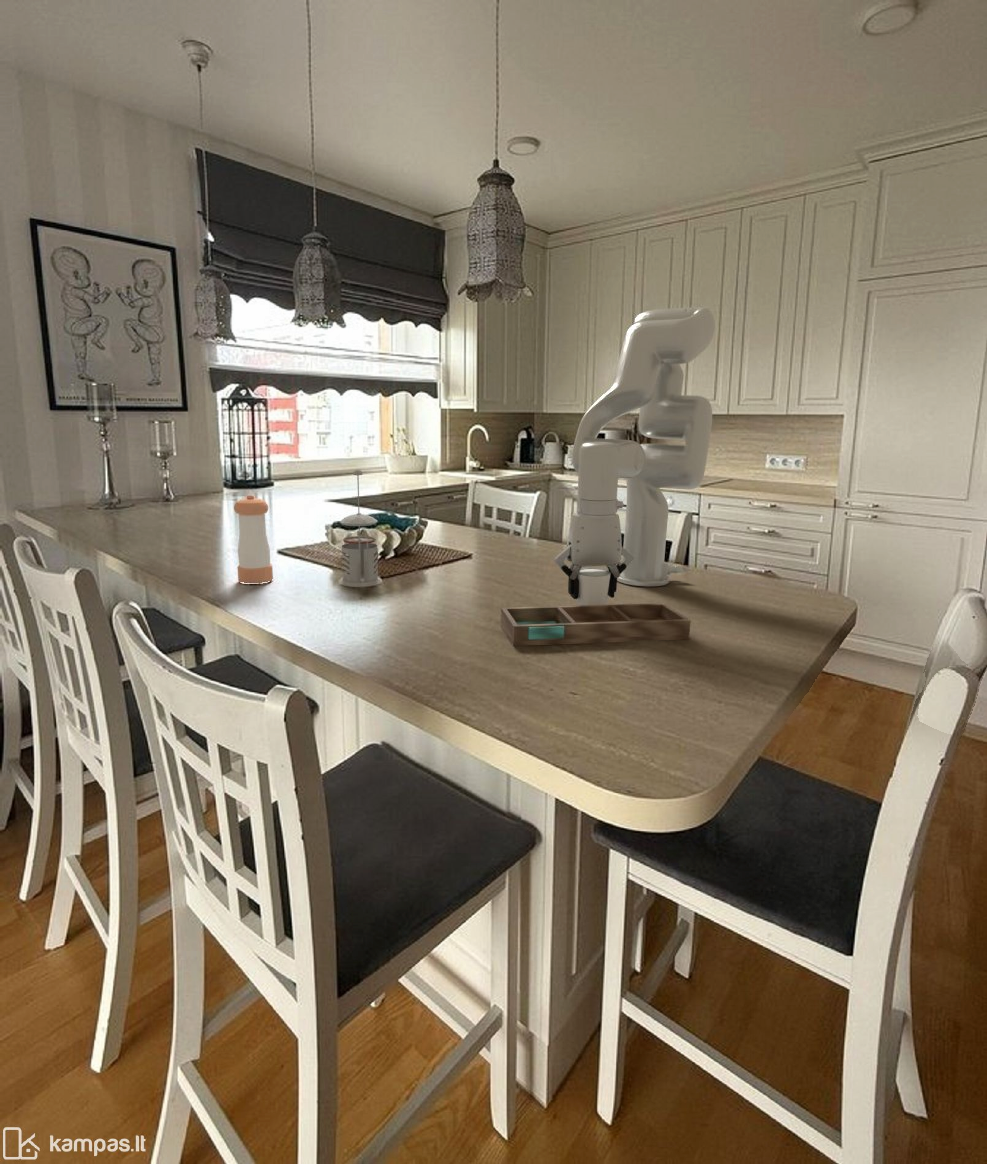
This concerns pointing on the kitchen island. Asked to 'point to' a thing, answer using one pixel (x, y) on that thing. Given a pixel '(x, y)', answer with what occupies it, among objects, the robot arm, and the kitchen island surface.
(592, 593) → the white cup
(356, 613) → the kitchen island surface
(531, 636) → the rack
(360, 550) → the french press
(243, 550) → the pepper shaker
